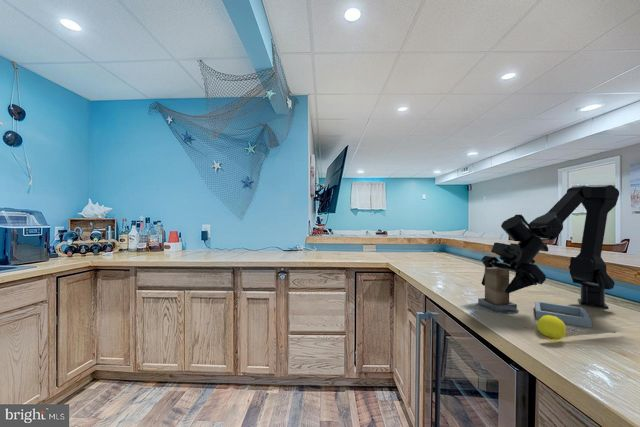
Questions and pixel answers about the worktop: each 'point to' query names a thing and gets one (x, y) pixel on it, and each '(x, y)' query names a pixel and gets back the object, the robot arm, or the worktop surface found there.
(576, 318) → the tray
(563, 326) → the lemon
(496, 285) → the post
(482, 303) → the base
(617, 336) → the worktop surface
